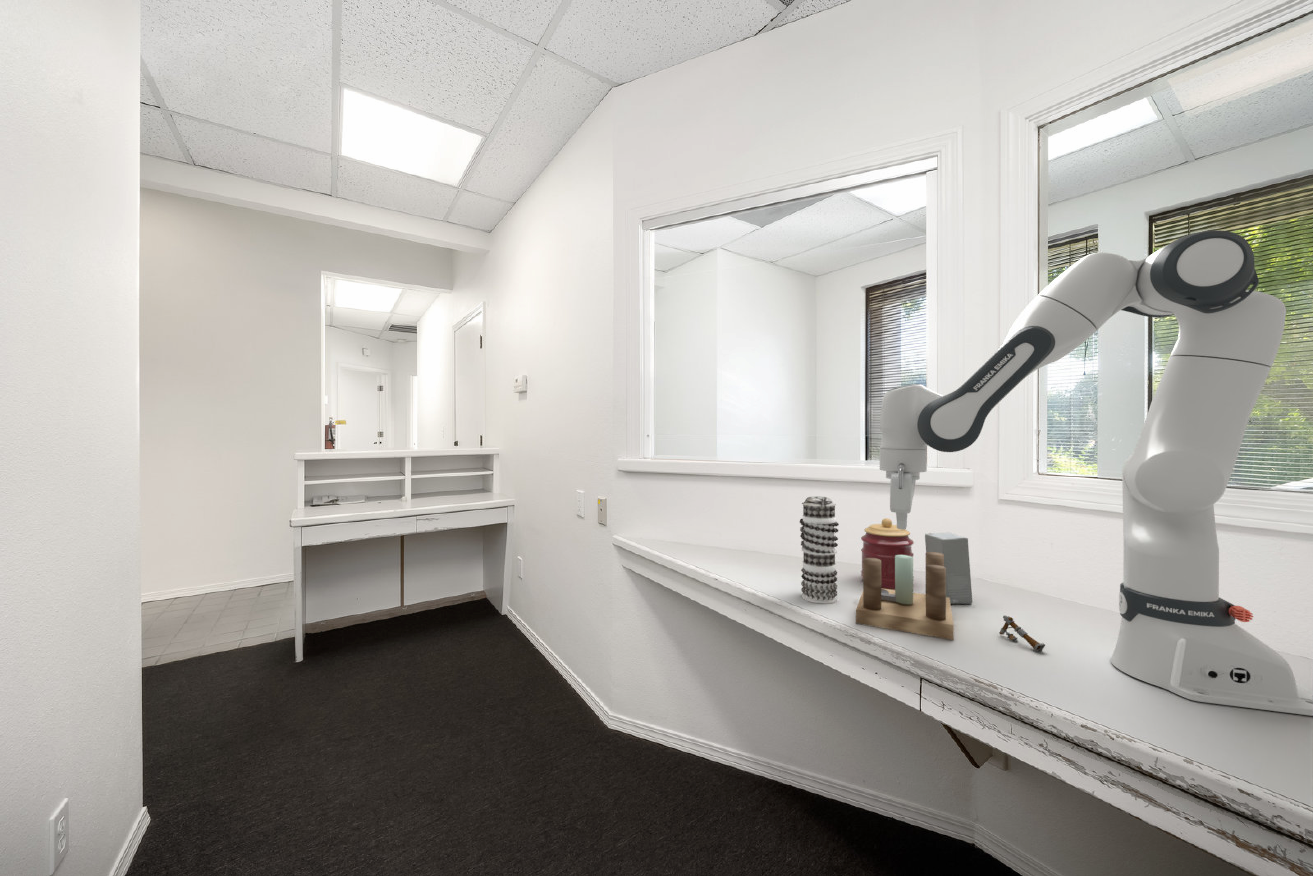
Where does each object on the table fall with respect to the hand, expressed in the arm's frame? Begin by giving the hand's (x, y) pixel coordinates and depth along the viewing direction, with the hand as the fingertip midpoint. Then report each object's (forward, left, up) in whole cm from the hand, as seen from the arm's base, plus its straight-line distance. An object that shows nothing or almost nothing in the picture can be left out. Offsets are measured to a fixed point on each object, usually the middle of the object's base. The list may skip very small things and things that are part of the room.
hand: (901, 528), depth 102 cm
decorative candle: (+19, -11, -21) cm, 30 cm away
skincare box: (-9, -25, -21) cm, 34 cm away
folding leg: (+3, -7, -18) cm, 19 cm away
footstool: (0, -7, -21) cm, 22 cm away
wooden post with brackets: (-20, -2, -21) cm, 30 cm away
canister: (+5, -32, -21) cm, 39 cm away
